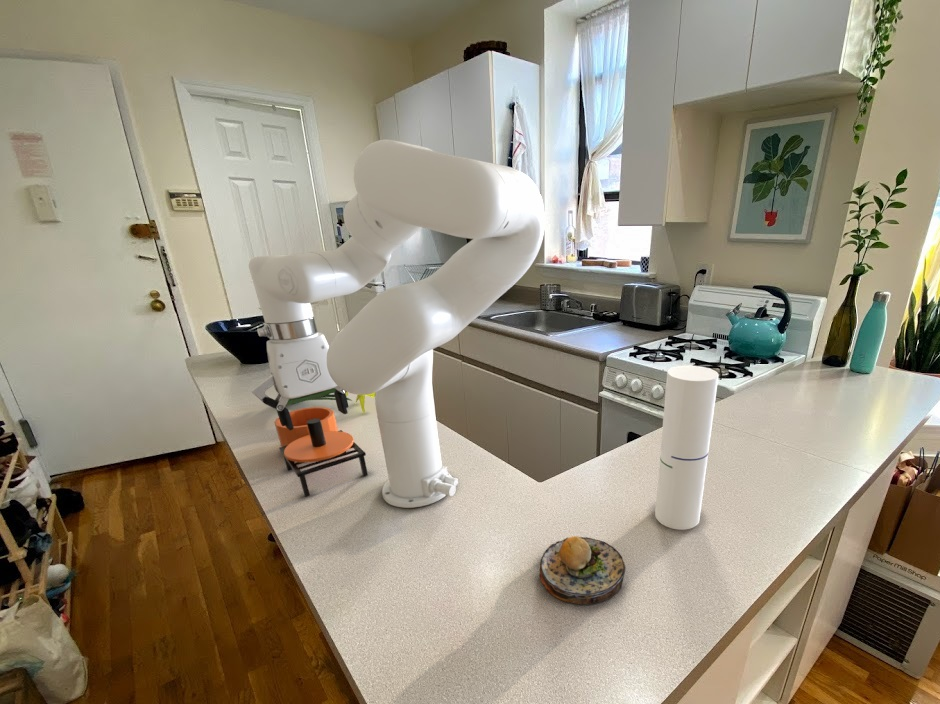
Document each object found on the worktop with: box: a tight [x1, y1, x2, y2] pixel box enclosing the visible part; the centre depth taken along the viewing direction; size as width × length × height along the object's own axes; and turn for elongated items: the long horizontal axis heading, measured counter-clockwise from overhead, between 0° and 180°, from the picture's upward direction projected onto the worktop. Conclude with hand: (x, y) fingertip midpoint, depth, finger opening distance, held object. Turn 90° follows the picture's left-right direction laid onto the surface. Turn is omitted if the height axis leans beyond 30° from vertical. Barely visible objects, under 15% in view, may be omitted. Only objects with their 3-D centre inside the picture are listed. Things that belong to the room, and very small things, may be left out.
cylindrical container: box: [654, 364, 719, 531], centre depth 72 cm, size 7×7×25 cm
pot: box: [274, 406, 339, 447], centre depth 100 cm, size 11×11×8 cm
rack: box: [278, 429, 369, 498], centre depth 91 cm, size 14×12×5 cm
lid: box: [284, 419, 355, 463], centre depth 89 cm, size 12×12×6 cm
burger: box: [538, 536, 626, 605], centre depth 63 cm, size 12×12×8 cm
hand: (317, 419), depth 87 cm, fingers open, 9 cm apart
